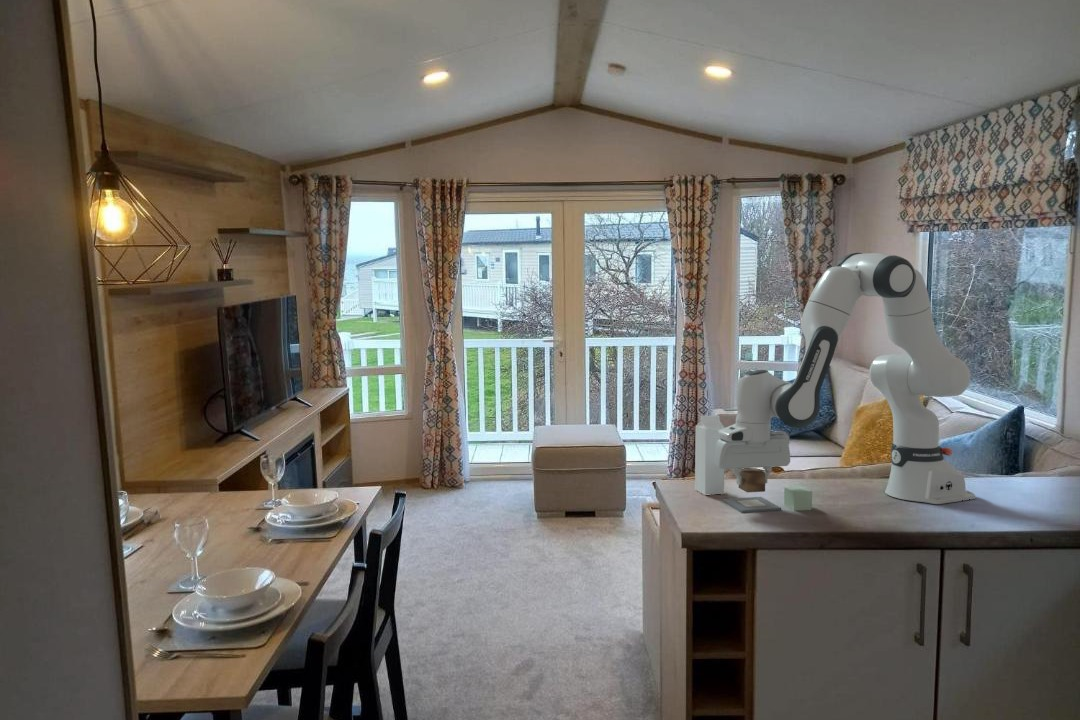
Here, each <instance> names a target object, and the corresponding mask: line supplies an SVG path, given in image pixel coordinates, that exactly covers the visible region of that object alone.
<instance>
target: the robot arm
mask: <svg viewBox="0 0 1080 720" xmlns="http://www.w3.org/2000/svg"><path fill="white" fill-rule="evenodd" d="M922 275H923V274H922V273H921V272H920V271H919V270H918V269H915V268H914V266H913V265H912V263H911V262H910V261H909V260H908V259H906V258H904V257H901V256H899V255H890V254H885V253H881V252H871V253H870V252H869V253H868V252H867V253H865V252H864V253H863V252H853V253H849V254H847V255H845V256H844V257H843V256H842V258H841V259H840V260H839V261H838V262H837V263H836V264H835V266H832V267H828V268H827V269H826V270H825V271H824V272H823V274H822V275H821V277H819V280H818V281H817V282H816V285H815V286H814V288H813V290H812V292H811V293H810V296H809V298H808V299H807V303H806V304H805V307H804V309H803V313H802V315H801V316H802V317H801V322H800V329H801V332H802V334H803V336H804V339H805V351H804V354H803V355H804V356H803V358H802V360H801V363H800V366H799V368H798V371H797V373H796V377H795V378H794V380H793V382H789V381H786V380H784V379H781V378H779V377H777V376H776V375H773V374H772V373H770V372H769V371H768V370H765V369H756V370H755V369H754V370H750V371H746V372H743V373H742V374H740V376H739V378H738V380H737V384H736V393H735V396H736V397H735V406H736V411H737V412H736V417H735V423H733V424H731V425H729V426H726V427H724V428H723V429H720V430H718V437H719V438H721V439H719V440H718V441H717V442H716V445H715V452H714V464H715V465H716V466H717V467H718V468H720V469H724V470H728V469H729V470H731V469H732V472H733V474H734V476H735V477H736V484H737V486H739V485H744V484H745V482H744V481H745V478H743V477H741V476H740V474H739V472H741V469H757V468H762V469H763V470H764V471H763V472H765V485H766V484H768V478H769V476H770V474H771V473H772V471H773V467H775V468H777V467H788V466H789V464H790V463H791V452H790V451H791V450H790V435H789V434H788V433H787V432H785V430H777V431H775V430H772V431H771V429H772V428H771V427H772V426H771V425H772V424H771V420H772V418H777V419H779V420H780V421H781V422H782V423H783V424H784V425H785V426H787V427H790V428H793V429H800V428H801V429H802V428H805V427H806V428H807V427H808V426H810V425H811V424H813V423H814V422H815V421H816V419H817V418H818V416H819V412H820V408H821V407H820V406H821V404H820V401H821V398H820V397H821V396H820V395H821V390H822V387H823V383H824V381H825V378H826V375H827V373H828V371H829V368H830V366H831V362H832V359H833V357H834V355H835V351H836V348H837V346H838V344H839V342H840V340H841V337H842V335H843V333H844V331H845V329H846V327H847V324H848V322H849V320H850V318H851V316H852V314H853V311H854V308H855V306H856V303H857V301H858V300H859V299H860V298H861V297H862V296H867V297H880V298H881V299H882V304H883V307H882V308H883V312H884V319H885V324H886V330H887V335H888V338H889V340H890V341H891V342H892V344H894V345H896V346H897V347H899V348H900V349H902V350H904V351H905V352H906V353H889V354H883V355H879V356H877V357H875V358H874V360H873V361H872V362H871V364H870V366H869V371H868V373H869V375H868V376H869V378H870V379H869V380H870V382H871V384H872V385H873V386H874V387H875V388H876V389H877V390H878V391H880V392H881V394H882V396H883V397H884V398H885V401H886V402H887V403H888V405H889V409H890V412H891V415H892V424H893V426H892V430H893V431H892V432H893V433H892V437H893V438H892V443H891V446H890V459H891V466H890V467H891V468H890V472H889V473H890V474H889V477H888V481H887V486H886V488H885V491H884V493H885V494H886V495H888V496H890V497H893V498H896V499H900V500H904V501H905V500H906V501H909V502H910V501H911V502H919V503H920V502H921V503H926V504H933V505H942V504H949V503H955V502H963V501H968V500H969V499H970V500H975V499H976V495H975V494H974V493H973V491H972V492H971V491H970V490H967V488H966V480H965V477H964V475H963V473H961V472H960V471H959V470H957V468H955V467H953V465H952V464H950V463H949V462H948V461H946V460H945V458H944V455H946V456H952V454H953V450H952V448H949V447H945V446H944V447H941V446H940V445H939V436H940V435H939V434H940V421H939V417H938V416H937V415H936V413H934V412H933V411H932V410H930V409H928V408H927V407H926V406H925V405H924V404H923V402H922V400H921V397H920V396H925V397H934V398H935V397H936V398H947V397H957V396H960V395H962V394H963V393H964V392H966V390H967V389H968V387H969V385H970V382H971V371H970V369H969V366H968V365H967V364H966V362H964V360H962V359H960V358H958V357H957V356H956V355H954V354H953V353H952V352H951V351H950V350H949V349H948V348H947V347H946V346H945V345H944V343H943V342H942V341H941V339H940V338H939V337H940V336H939V335H938V333H937V330H936V328H935V323H934V319H933V314H932V312H933V311H932V307H931V302H930V296H929V293H928V289H927V285H926V282H925V280H924V278H923V276H922ZM962 500H963V501H962ZM970 500H969V501H970Z"/></svg>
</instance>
